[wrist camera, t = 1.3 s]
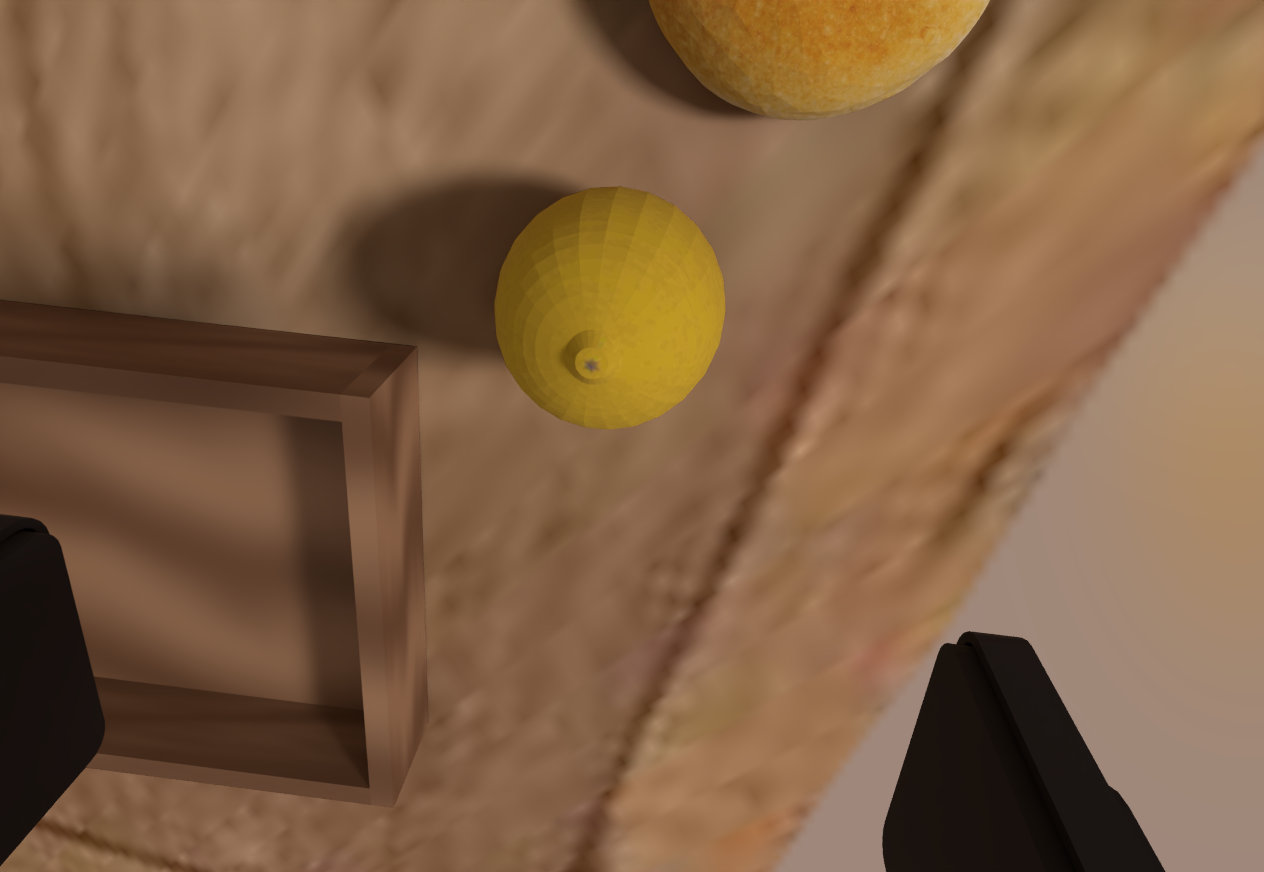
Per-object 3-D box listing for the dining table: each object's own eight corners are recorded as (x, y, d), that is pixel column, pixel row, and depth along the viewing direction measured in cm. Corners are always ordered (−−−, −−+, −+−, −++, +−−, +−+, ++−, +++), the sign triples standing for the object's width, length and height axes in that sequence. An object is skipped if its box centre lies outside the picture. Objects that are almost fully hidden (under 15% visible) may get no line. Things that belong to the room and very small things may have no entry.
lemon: (500, 299, 24) (415, 408, 17) (585, 126, 22) (527, 169, 15) (661, 387, 25) (644, 526, 18) (759, 229, 23) (784, 316, 16)
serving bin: (-73, 292, 26) (-198, 333, 22) (417, 346, 25) (368, 397, 22) (42, 672, 33) (-40, 751, 29) (428, 721, 32) (393, 807, 29)
